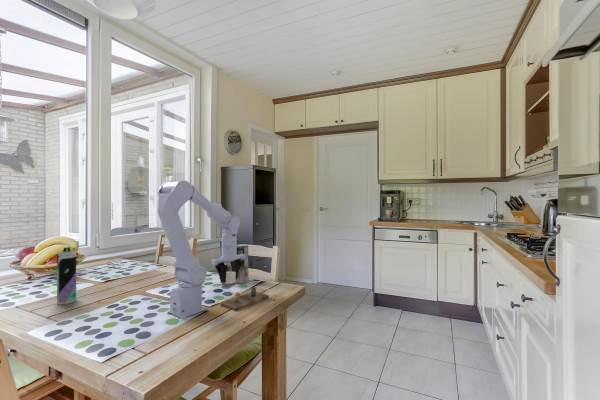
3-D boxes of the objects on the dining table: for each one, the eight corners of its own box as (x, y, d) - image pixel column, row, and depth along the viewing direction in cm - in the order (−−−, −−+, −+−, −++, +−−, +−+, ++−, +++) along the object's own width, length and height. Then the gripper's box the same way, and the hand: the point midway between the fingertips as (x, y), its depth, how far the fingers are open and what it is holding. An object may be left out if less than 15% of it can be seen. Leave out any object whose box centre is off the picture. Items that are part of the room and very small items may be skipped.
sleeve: (227, 287, 105) (227, 275, 105) (219, 285, 108) (219, 273, 108) (238, 284, 109) (238, 272, 109) (230, 282, 112) (230, 270, 112)
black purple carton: (65, 305, 99) (65, 249, 99) (52, 303, 100) (52, 248, 100) (80, 299, 104) (80, 246, 104) (68, 298, 105) (68, 246, 106)
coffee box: (248, 279, 131) (248, 245, 131) (244, 283, 124) (244, 247, 124) (230, 279, 132) (230, 245, 132) (225, 283, 125) (225, 247, 125)
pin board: (235, 311, 94) (235, 298, 94) (220, 305, 98) (220, 293, 98) (268, 297, 106) (268, 286, 106) (254, 293, 111) (254, 282, 111)
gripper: (236, 242, 116) (236, 274, 116) (206, 247, 105) (206, 283, 105) (248, 244, 112) (248, 277, 112) (218, 249, 100) (218, 286, 100)
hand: (228, 280), depth 108 cm, fingers closed on sleeve, 5 cm apart
